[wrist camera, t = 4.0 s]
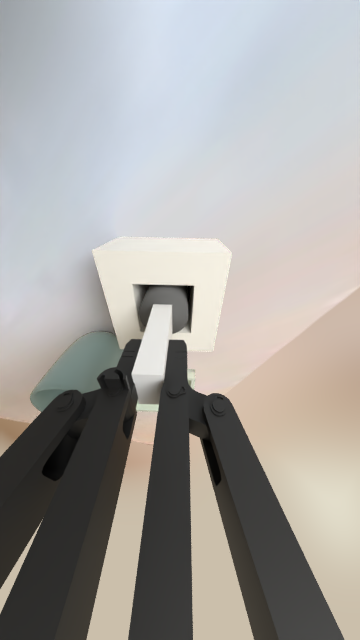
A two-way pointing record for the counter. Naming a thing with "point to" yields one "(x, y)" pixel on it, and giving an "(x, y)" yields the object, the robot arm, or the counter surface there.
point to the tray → (155, 406)
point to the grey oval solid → (166, 296)
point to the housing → (164, 283)
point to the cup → (78, 367)
